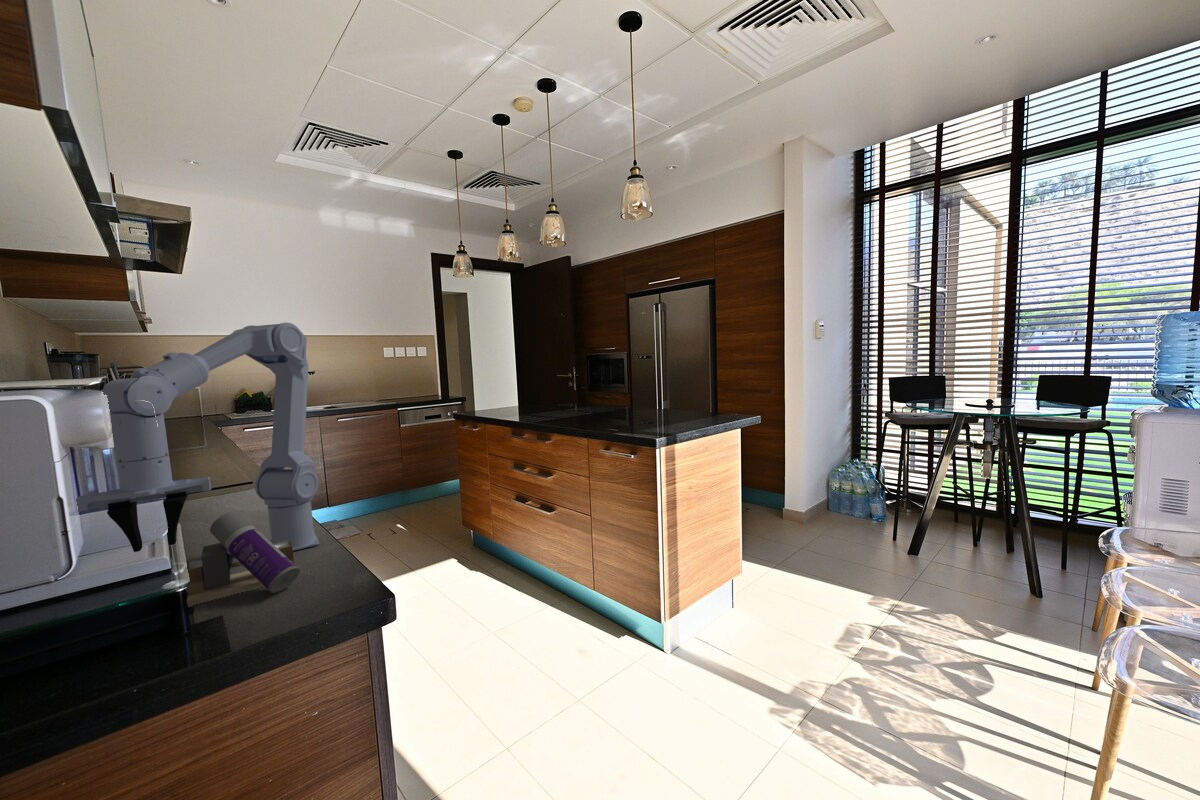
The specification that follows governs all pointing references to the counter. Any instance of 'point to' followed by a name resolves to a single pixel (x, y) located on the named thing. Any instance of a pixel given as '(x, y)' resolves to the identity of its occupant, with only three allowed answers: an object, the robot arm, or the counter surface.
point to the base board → (236, 584)
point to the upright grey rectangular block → (215, 565)
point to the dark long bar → (233, 558)
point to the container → (254, 551)
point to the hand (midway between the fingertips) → (155, 546)
